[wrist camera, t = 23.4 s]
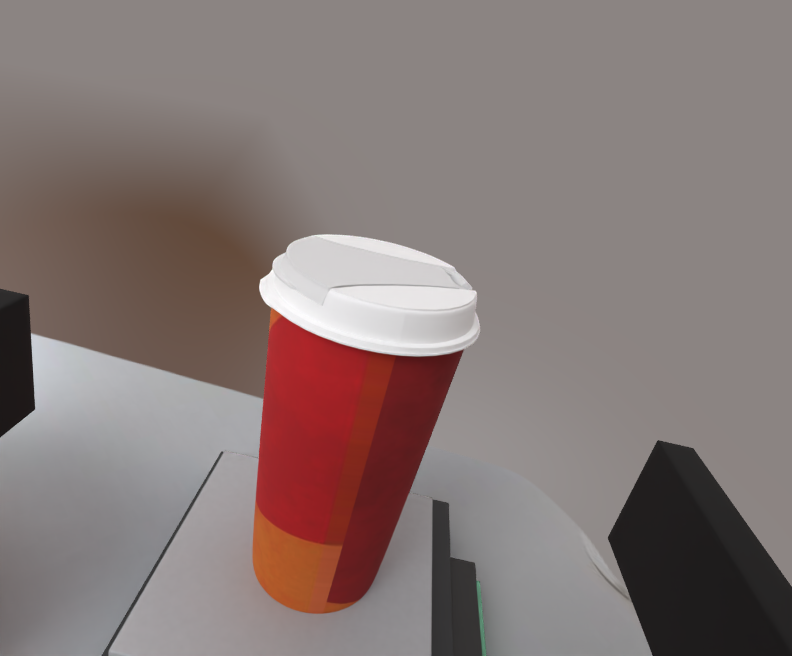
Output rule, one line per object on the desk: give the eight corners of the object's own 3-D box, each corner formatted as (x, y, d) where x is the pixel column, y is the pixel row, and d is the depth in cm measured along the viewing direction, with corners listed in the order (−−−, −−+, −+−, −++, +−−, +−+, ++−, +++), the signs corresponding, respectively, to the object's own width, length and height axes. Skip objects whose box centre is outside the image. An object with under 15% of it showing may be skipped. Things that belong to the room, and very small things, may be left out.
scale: (466, 535, 34) (480, 499, 33) (485, 804, 21) (509, 760, 20) (218, 479, 34) (222, 440, 32) (84, 719, 21) (84, 669, 20)
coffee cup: (380, 497, 31) (449, 246, 25) (418, 632, 24) (529, 328, 18) (226, 496, 29) (262, 217, 22) (217, 647, 21) (267, 298, 15)
